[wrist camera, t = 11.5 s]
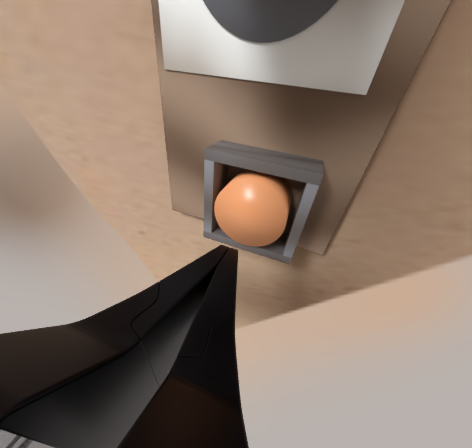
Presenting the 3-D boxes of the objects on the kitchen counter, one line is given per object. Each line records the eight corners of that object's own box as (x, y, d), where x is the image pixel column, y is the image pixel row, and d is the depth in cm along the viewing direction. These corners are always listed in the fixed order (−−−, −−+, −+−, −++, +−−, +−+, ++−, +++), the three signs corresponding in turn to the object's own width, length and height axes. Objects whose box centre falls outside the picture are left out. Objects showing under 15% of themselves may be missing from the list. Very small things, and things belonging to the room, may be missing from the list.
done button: (234, 158, 13) (215, 173, 11) (300, 173, 12) (295, 192, 10) (229, 213, 16) (213, 234, 14) (283, 228, 15) (276, 254, 13)
